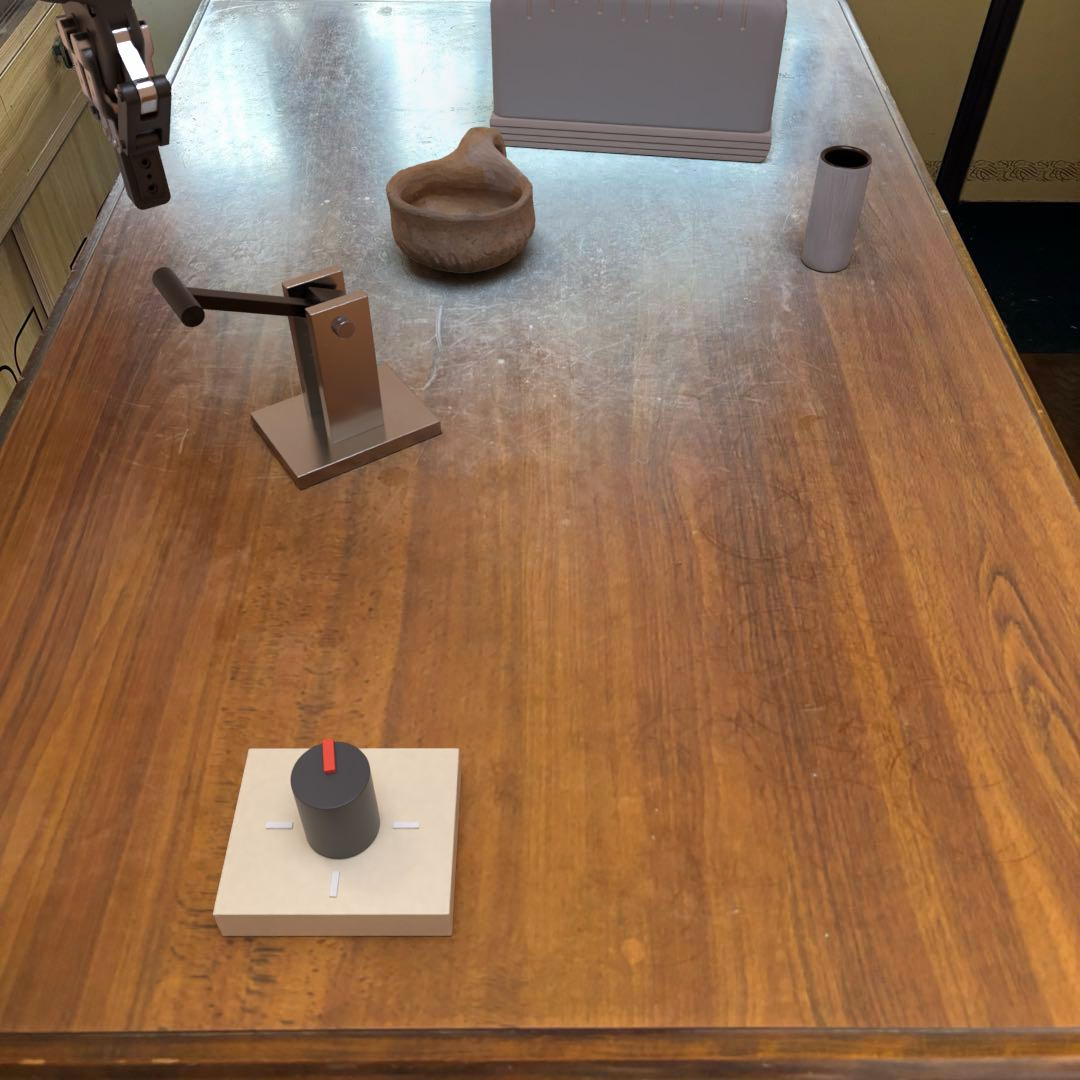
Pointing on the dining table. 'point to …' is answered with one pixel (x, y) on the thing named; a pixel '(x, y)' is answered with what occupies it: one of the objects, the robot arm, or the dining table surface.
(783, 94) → the dining table surface
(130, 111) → the robot arm
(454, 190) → the bowl
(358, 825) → the dial
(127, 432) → the dining table surface
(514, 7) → the toaster
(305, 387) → the bracket
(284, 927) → the dial panel
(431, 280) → the dining table surface
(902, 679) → the dining table surface
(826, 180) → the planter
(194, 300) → the lever
